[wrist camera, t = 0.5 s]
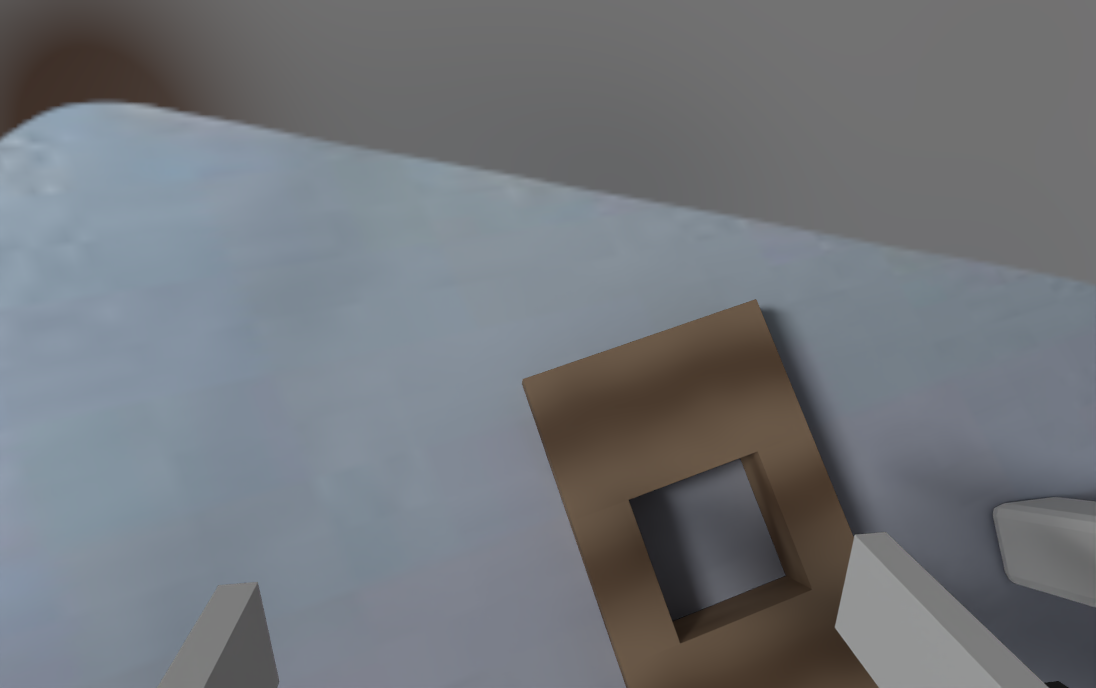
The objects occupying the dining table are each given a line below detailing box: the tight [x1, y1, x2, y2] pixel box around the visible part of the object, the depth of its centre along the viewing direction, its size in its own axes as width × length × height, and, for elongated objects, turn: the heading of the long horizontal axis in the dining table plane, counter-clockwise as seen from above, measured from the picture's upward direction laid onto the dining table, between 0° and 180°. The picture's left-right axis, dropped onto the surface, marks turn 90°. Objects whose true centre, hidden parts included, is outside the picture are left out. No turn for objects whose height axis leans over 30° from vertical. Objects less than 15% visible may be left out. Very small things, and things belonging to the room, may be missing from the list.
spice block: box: [522, 299, 879, 688], centre depth 27 cm, size 20×12×2 cm, turn 19°
